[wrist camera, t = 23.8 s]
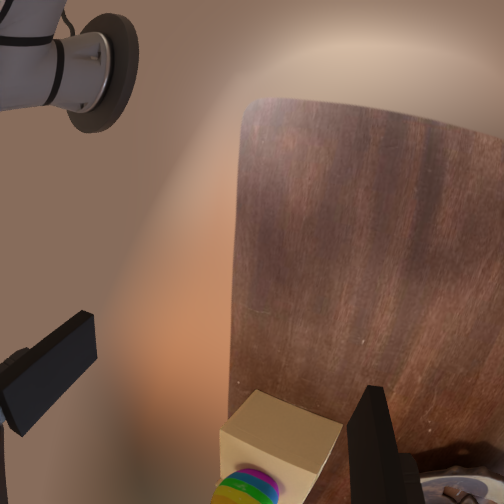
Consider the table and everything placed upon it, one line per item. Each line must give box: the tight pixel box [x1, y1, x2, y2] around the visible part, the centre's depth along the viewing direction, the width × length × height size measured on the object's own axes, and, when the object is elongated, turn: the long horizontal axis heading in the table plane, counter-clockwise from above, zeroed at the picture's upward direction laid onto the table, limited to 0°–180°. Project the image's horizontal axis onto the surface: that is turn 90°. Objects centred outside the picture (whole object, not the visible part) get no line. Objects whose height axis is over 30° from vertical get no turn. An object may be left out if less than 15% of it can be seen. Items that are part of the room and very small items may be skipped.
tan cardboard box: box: [215, 389, 343, 504], centre depth 39 cm, size 14×16×10 cm
